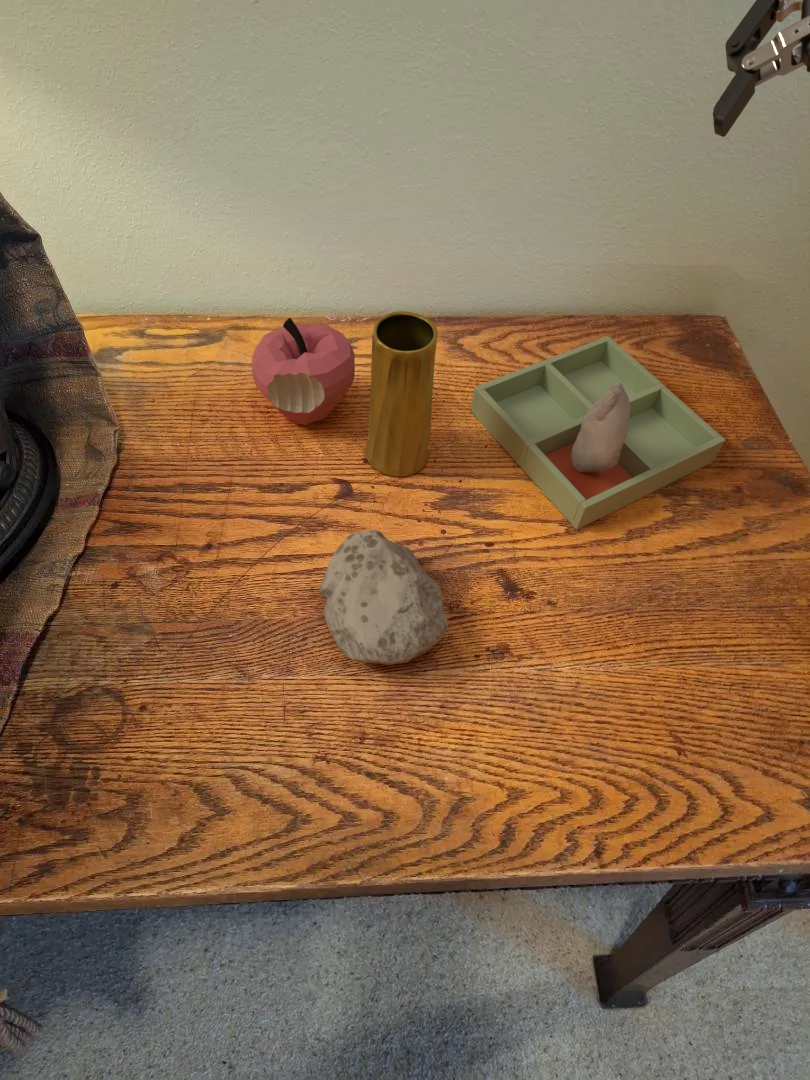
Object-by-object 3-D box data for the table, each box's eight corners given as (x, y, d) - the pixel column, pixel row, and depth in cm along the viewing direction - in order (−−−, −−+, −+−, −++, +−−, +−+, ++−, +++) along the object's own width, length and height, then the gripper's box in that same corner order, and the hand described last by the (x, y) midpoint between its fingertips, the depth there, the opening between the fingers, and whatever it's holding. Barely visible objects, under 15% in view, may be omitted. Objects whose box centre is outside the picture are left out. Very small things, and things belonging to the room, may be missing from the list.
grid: (712, 462, 71) (726, 439, 68) (576, 530, 65) (585, 508, 62) (599, 359, 79) (608, 335, 76) (470, 410, 73) (474, 386, 71)
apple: (248, 436, 69) (234, 353, 61) (271, 376, 75) (260, 292, 66) (346, 450, 69) (345, 369, 61) (363, 389, 74) (363, 306, 66)
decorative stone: (478, 615, 59) (487, 582, 55) (385, 703, 54) (387, 674, 50) (373, 528, 64) (374, 492, 60) (278, 602, 59) (272, 568, 55)
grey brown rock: (609, 495, 66) (644, 417, 58) (571, 494, 66) (601, 415, 58) (599, 449, 70) (631, 368, 62) (564, 447, 70) (591, 366, 62)
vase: (371, 481, 67) (374, 359, 55) (360, 433, 70) (361, 310, 59) (435, 474, 68) (451, 352, 56) (421, 427, 71) (434, 304, 60)
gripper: (833, -152, 48) (679, 88, 52) (1064, -96, 42) (871, 166, 46) (826, -64, 54) (690, 142, 58) (1024, -7, 49) (859, 215, 53)
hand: (770, 152), depth 52 cm, fingers open, 8 cm apart
